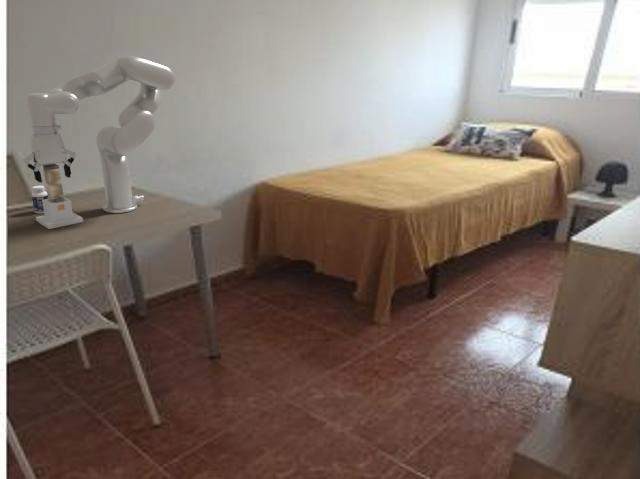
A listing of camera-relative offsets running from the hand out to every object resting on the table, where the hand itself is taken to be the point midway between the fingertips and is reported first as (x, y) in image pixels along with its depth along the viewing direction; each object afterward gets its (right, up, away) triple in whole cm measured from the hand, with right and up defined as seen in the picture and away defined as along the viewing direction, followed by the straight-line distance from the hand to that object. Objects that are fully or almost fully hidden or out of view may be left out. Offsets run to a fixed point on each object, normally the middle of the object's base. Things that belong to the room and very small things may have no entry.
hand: (53, 179), depth 188 cm
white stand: (0, -15, +5) cm, 16 cm away
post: (0, -9, +3) cm, 10 cm away
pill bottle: (-12, -11, +16) cm, 23 cm away
